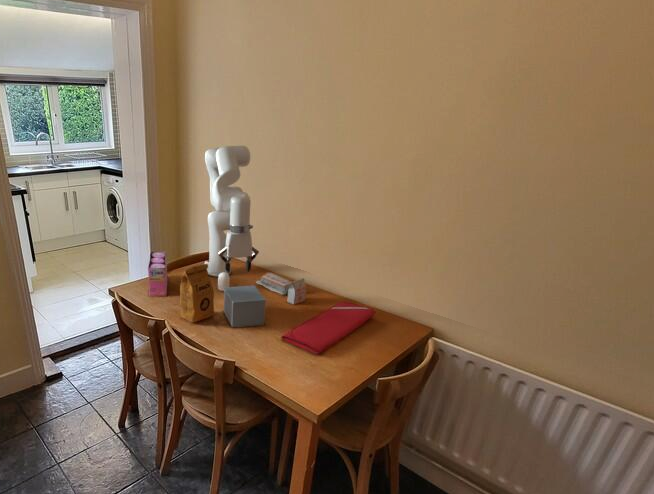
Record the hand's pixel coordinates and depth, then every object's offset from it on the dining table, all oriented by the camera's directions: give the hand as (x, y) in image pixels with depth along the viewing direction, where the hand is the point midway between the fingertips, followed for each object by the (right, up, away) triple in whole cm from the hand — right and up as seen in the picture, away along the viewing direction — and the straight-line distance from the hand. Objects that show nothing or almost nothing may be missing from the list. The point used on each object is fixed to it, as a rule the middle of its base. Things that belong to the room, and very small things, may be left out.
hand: (237, 271), depth 167 cm
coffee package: (-17, -19, -2) cm, 25 cm away
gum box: (-34, -5, +28) cm, 44 cm away
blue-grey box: (+2, -19, -3) cm, 19 cm away
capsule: (-4, -6, +24) cm, 25 cm away
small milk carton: (+26, -12, +11) cm, 31 cm away
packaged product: (+21, -6, +25) cm, 33 cm away
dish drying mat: (+34, -23, -12) cm, 42 cm away
